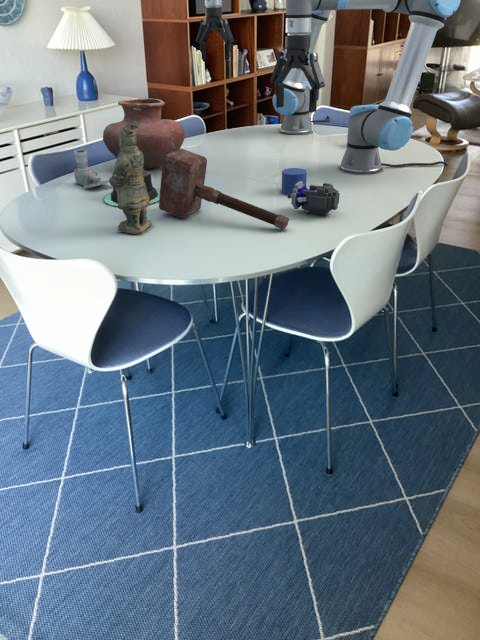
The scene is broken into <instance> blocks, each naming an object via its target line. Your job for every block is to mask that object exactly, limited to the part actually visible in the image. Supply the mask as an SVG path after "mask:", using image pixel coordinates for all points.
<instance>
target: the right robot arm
mask: <svg viewBox="0 0 480 640" xmlns="http://www.w3.org/2000/svg"><path fill="white" fill-rule="evenodd" d="M461 1H462V0H285V33H286V35H285V38H284V39H285V40H284V42H285V43H284V47H285V49H286V50H280V51H278V53H277V60H276V62H275V65H274V68H273V71H272V74H271V76H270V79H269V81H270V82H269V83H271V84H274V94H275V95H276V108H279V107H284V85H281V84H282V83H283V81H284V80H285V78H286V77H287V75H288V74H289V72H290V70H291V69H292V68H296V69H301V70H302V71H303V72H304V74H305V76H306V78H305V79H306V81H307V82H309V84H310V97H309V114H311V113H315V112H317V108H318V107H317V106H318V101H319V99H320V89H323V88H325V87H326V83H325V81H324V77H323V73H322V70H321V67H320V63H319V55H318V52H314V53H311V54H309V48H310V42H311V36H310V35H309V33H310V32H311V17H312V15H311V14H312V11H316V10H331V11H341V10H382V11H384V12H385V13H397V14H403V15H407V16H408V20H409V22H410V26H409V29H408V32H407V35H406V38H405V41H404V43H403V47H402V50H401V52H400V55H399V59H398V62H397V63H396V64H397V65H396V67H395V70H394V73H393V76H392V79H391V82H390V85H389V88H388V91H387V94H386V95H385V99H384V100H383V101H382V102H379V104H362V105H354V106H352V107H351V108H350V109H349V113H348V126H347V138H346V139H347V140H346V149H345V151H344V154H343V156H342V158H341V162H340V170H341V171H343V172H345V173H349V174H355V175H356V174H357V175H369V174H370V175H371V174H376V173H378V172H380V171H382V166H383V167H389V168H402V167H410V166H412V167H413V166H415V167H417V166H421V167H422V166H423V167H427V166H436V165H437V166H438V165H444V166H445V167H449V164H448V163H447V162H445V161H443V160H440V161H435V162H408V163H399V164H392V163H391V164H390V163H385V162H382V161H381V155H380V150H379V148H380V149H381V150H385V151H398V150H400V149H401V148H404V147H405V146H406V145H407V144H408V142H409V141H410V139H411V137H412V135H413V133H414V132H413V131H414V126H413V122H412V121H411V117H412V115H413V112H412V110H411V104H412V102H413V99H414V96H415V93H416V90H417V87H418V85H419V83H420V80H421V76H422V73H423V71H424V68H425V65H426V62H427V60H428V57H429V54H430V51H431V48H432V46H433V42H434V41H435V37H436V36H437V35H436V34H437V32H438V31H439V30H440V29H442V28H443V27H445V23H446V21H447V18H449V17H450V16H453V14H455V12H457V10H458V8H459V6H460V4H461ZM308 60H309V61H310V64H309V62H308Z"/></svg>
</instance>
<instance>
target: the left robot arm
mask: <svg viewBox="0 0 480 640" xmlns="http://www.w3.org/2000/svg"><path fill="white" fill-rule="evenodd" d="M204 6H205V7H204V8H205V9H204V15H205V18H206V19H205V18H201V19H200V25H199V28H198V31H197V34H196V37H195V38H196V39H195V42H196V43H198V44H199V52H200V53H201V54H200V56H201V60H207V43H206V40H207V38H208V37H209V35H210V33H211V32H213V31H215V32H217V33H218V34H219V35H220V37H221V39H222V40H223V41H224V45H223V46H224V47H223V49H224V62H225V61H230V60H231V58H230V57H231V55H230V53H231V50H232V49H231V48H232V47H231V44H233V43H235V39H234V35H233V34H232V31H231V27H230V26H229V20H228V19H227V18H225V19H223V8H222V6H223V0H204ZM331 11H332V10H316V11H312V14H311V15H312V17H311V32H310V33H309V35H310V36H311V42H310V48H309V54H311V53H315V49H316V46H317V43H318V40H319V37H320V33H321V31H322V27H323V25H325V24H326V23H328V21H329V18H330V14H331ZM308 62H309V64H310V61H309V60H308ZM306 79H307V78H306V76H305V74H304V72H303V71H302V70H301V69H296V68H292V69H291V70H290V72H289V74H288V75H287V77H286V78H285V80H284V81H283V83H282V84H281V85H284V107H279V108H276V95H275V93H274V94H273V97H272V106H273V109H274V110H275V112H277V113H278V114H279V115H282V116H283V119H282V122H281V125H280V133H282V134H284V135H293V136H294V135H295V136H298V135H299V136H300V135H308V134H310V133H312V132H313V126H312V123H324V122H329V121H330V116H329V115H326V119H322V120H320V119H318V120H316V119H315V120H311V119H310V113H309V97H310V90H311V86H310V84H309V82H308V80H306ZM305 80H306V81H305Z"/></svg>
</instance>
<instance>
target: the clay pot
mask: <svg viewBox="0 0 480 640" xmlns="http://www.w3.org/2000/svg"><path fill="white" fill-rule="evenodd" d="M165 104H166V102H165V101H163V100H162V99H159V98H132V99H130V98H129V99H122V100H118V102H117V105H118V106H121V108H122V110H123V115H124V117H123V119H122V120H121V121H117V122H112V123H109V124H107V125H106V126H105V128H104V129H103V131H102V141H103V143H104V145H105V147H106V149H107V150H108V151H109V152H110V153H111V154H112V156H114V157H115V158H116V159H117V156H118V154H119V151H120V147H119V140H118V138H119V133H120V130H121V129H123V128H124V127H125V126H126V125H127V124H128V123H131V122H133V121H137V122H138V123H139V127H138V130H137V131H136V138H137V143H136V146H137V147H138V149H139V150H141V151H142V153H143V156H144V166H143V169H155V168H158V167H161V166H163V158H164V156H165V155H167V154H170V153H172V152H174V151H177V150H179V149H182V146H183V143H184V141H185V137H186V134H185V129H184V127H183V126H182V124H181V123H180V122H178V120H174V119H168V118H167V119H165V118H163V119H162V110H163V107H164V106H165Z"/></svg>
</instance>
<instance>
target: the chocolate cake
mask: <svg viewBox="0 0 480 640" xmlns="http://www.w3.org/2000/svg"><path fill="white" fill-rule="evenodd" d="M113 175H114V171H112V173H111V176H113ZM143 178H144V182H145V184H146V188H147V192H148V195H149V197H150V204H154V203H157V202H159V198H160V188H156V187H154V185H153V182H152V174H151V172H149V171H148V170H146V169H145V168H143ZM103 200H104V202H105V203H106V204H108V205H109V206H115V207H118V202H117V192H116V189H115V188H114V187H112V191H111V193H108V194H107V195H106V196H104V198H103ZM150 204H149V205H150Z"/></svg>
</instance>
